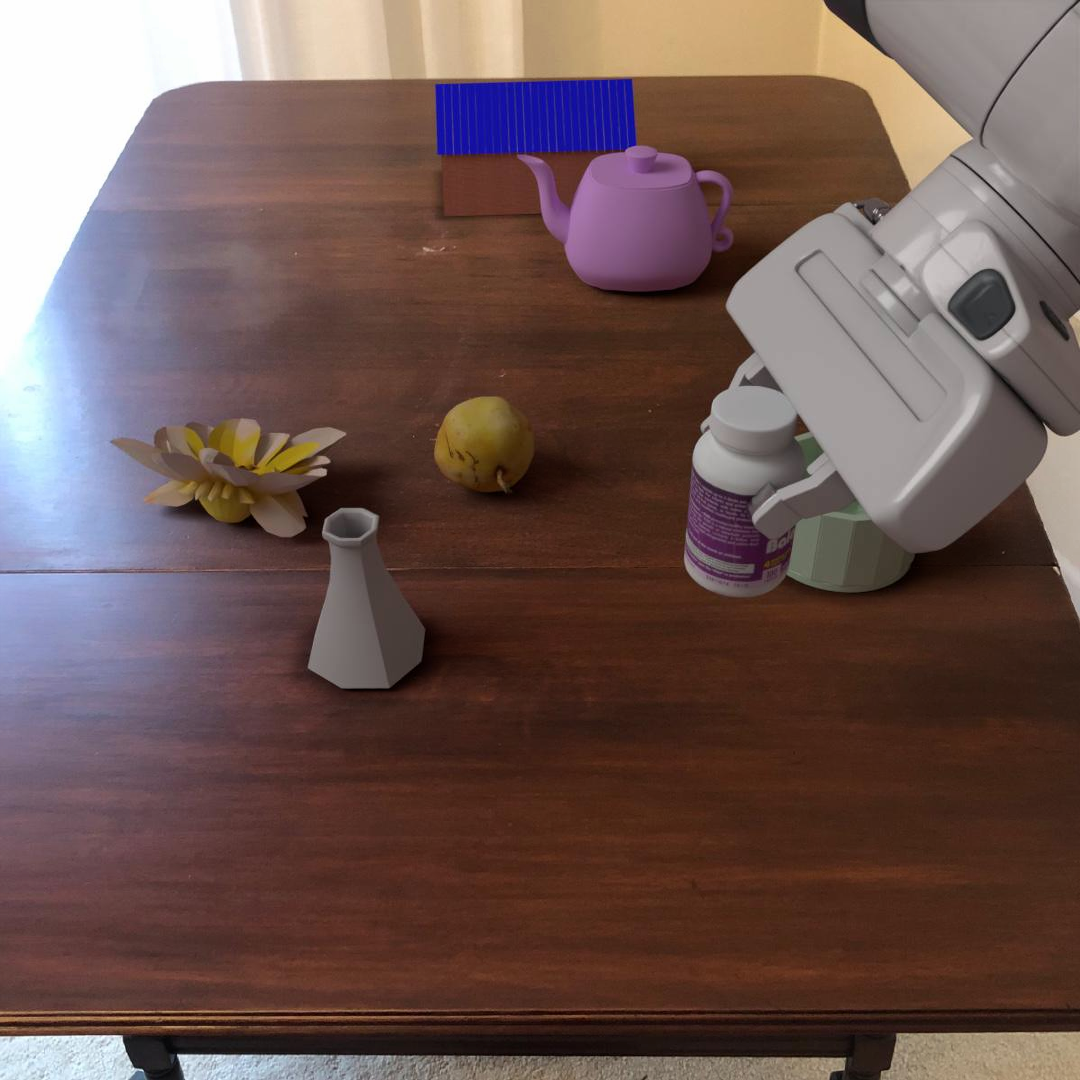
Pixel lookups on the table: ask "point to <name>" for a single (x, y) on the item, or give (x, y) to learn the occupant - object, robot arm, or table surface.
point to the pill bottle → (741, 491)
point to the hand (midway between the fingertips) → (733, 483)
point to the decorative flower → (236, 470)
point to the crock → (843, 546)
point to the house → (525, 139)
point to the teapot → (636, 220)
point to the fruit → (484, 444)
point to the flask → (363, 611)
